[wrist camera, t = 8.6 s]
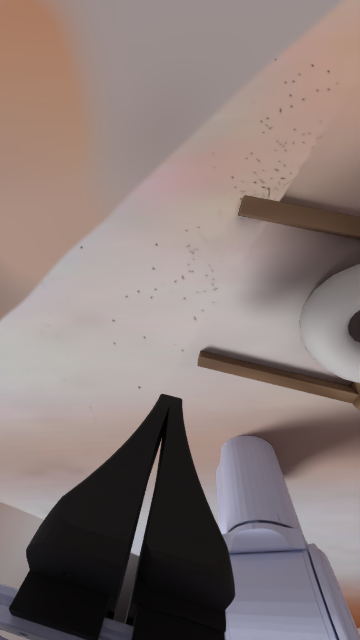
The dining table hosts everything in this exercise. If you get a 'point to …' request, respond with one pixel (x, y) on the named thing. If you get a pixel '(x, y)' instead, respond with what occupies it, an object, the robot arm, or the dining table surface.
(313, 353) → the donut
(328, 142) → the dining table surface
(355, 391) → the guide track
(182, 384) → the dining table surface
